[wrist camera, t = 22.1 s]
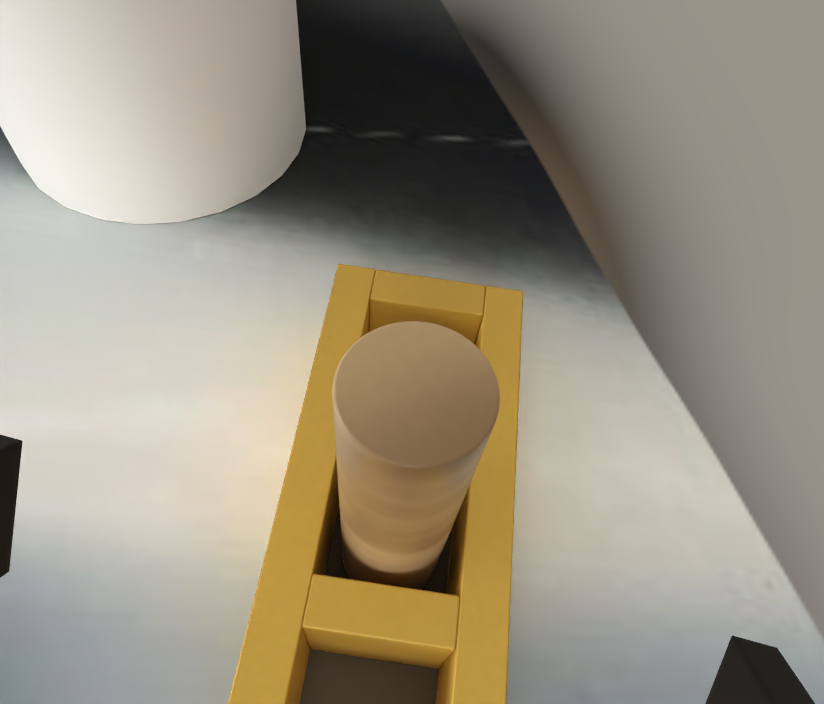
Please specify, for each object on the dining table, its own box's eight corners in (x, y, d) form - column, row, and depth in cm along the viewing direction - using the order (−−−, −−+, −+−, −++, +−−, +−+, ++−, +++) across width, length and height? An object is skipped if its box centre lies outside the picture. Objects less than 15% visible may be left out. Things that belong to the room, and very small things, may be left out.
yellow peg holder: (215, 862, 21) (181, 887, 17) (340, 326, 33) (337, 263, 29) (468, 901, 21) (496, 936, 17) (501, 350, 33) (523, 290, 29)
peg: (325, 535, 27) (301, 362, 15) (404, 488, 28) (439, 296, 17) (373, 621, 25) (389, 500, 14) (455, 566, 27) (534, 415, 15)
